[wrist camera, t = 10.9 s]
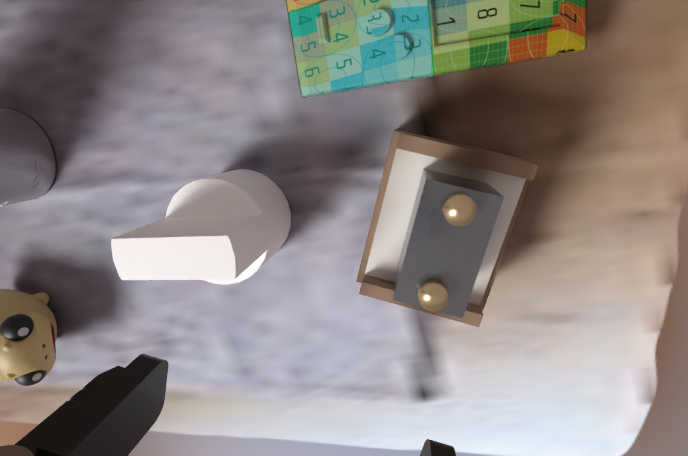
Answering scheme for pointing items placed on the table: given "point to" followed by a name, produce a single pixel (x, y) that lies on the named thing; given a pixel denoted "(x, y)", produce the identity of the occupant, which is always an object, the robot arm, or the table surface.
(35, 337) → the tan toy hamster
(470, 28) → the puzzle game
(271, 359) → the table surface
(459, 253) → the block
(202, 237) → the cylinder with rectangular tab
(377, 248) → the stand
